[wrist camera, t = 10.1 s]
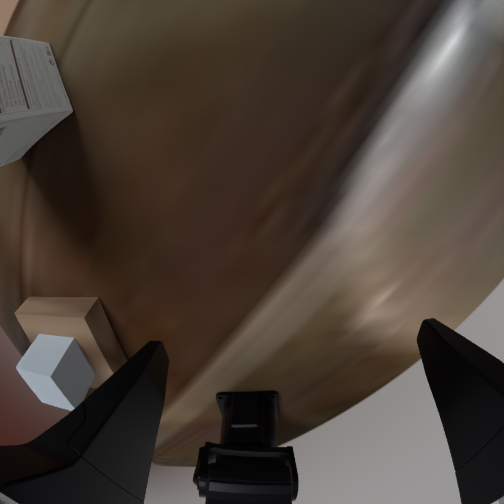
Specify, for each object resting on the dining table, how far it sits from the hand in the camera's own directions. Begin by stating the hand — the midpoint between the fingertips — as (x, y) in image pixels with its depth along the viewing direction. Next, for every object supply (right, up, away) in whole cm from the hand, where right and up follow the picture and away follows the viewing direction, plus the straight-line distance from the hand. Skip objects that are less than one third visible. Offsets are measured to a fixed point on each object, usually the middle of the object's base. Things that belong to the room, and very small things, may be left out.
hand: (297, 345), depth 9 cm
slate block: (-20, -7, +14) cm, 25 cm away
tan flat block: (-20, -6, +17) cm, 27 cm away
